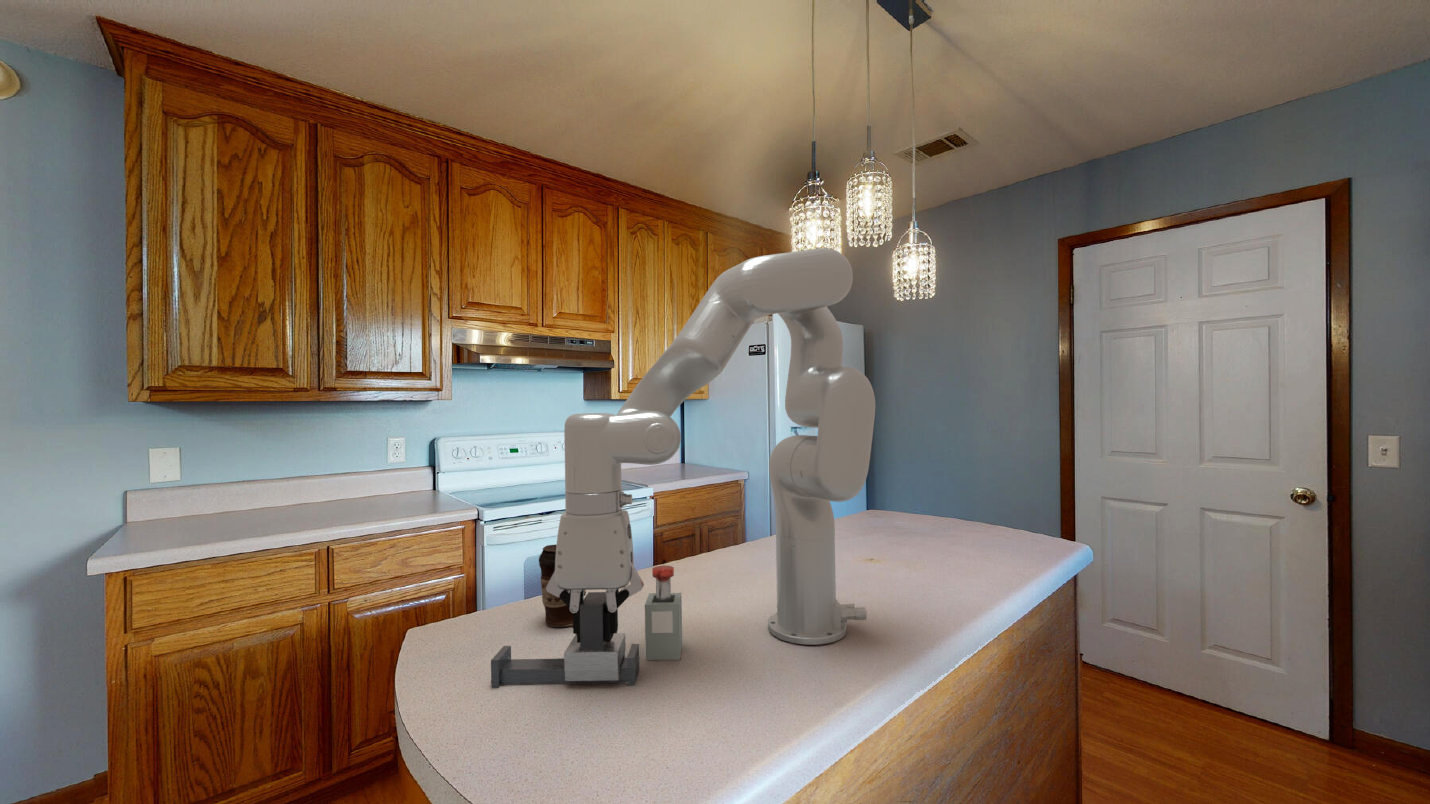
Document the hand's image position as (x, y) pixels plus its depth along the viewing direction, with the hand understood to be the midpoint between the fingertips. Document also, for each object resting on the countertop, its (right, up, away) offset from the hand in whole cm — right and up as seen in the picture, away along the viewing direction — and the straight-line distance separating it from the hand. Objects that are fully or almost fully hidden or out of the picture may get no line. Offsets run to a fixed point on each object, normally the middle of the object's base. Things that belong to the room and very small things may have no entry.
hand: (595, 637), depth 75 cm
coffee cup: (-10, -6, +20) cm, 23 cm away
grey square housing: (+9, -5, +7) cm, 13 cm away
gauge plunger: (+9, 0, +7) cm, 11 cm away
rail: (-4, -6, 0) cm, 7 cm away
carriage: (0, -6, 0) cm, 6 cm away
